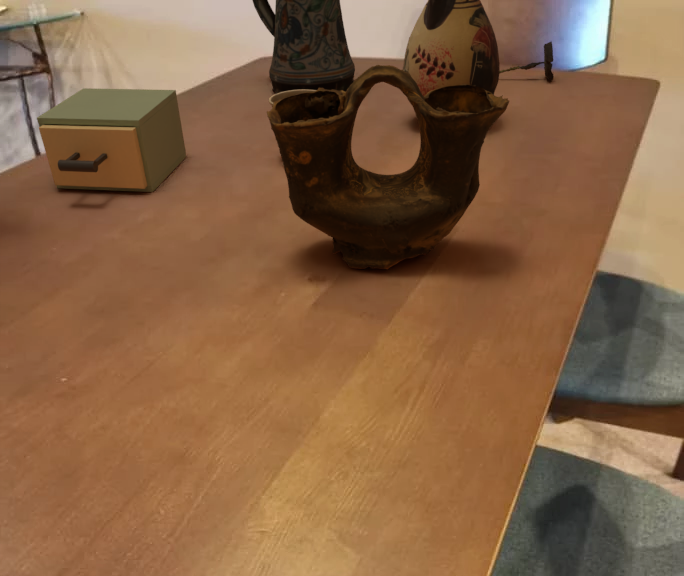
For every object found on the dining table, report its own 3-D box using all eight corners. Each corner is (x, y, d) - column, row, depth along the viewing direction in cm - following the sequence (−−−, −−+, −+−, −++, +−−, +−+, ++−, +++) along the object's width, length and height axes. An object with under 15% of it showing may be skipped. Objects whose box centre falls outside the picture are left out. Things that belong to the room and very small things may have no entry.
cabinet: (152, 192, 102) (138, 120, 96) (56, 188, 104) (36, 117, 98) (186, 156, 113) (175, 89, 106) (98, 154, 115) (83, 88, 108)
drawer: (131, 202, 97) (117, 142, 92) (38, 198, 99) (20, 139, 94) (177, 155, 110) (167, 100, 105) (94, 153, 112) (81, 99, 107)
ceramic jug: (448, 105, 130) (461, -106, 110) (512, 125, 120) (540, -102, 101) (374, 125, 122) (375, -98, 102) (438, 148, 113) (452, -93, 93)
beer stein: (354, 99, 134) (351, -67, 118) (250, 101, 135) (233, -63, 118) (356, 76, 146) (354, -77, 130) (261, 78, 147) (247, -74, 131)
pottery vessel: (484, 232, 89) (504, 52, 76) (496, 273, 81) (521, 79, 68) (282, 235, 90) (267, 57, 77) (273, 276, 82) (255, 84, 69)
